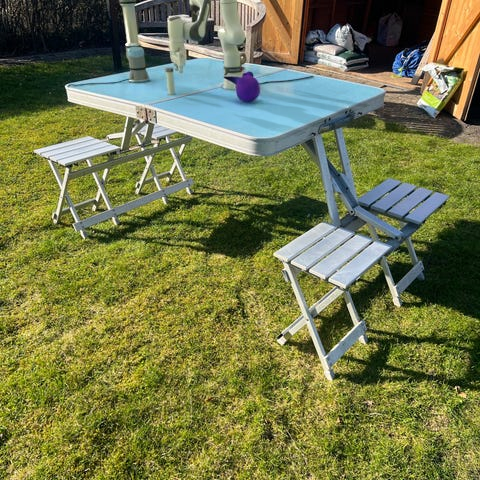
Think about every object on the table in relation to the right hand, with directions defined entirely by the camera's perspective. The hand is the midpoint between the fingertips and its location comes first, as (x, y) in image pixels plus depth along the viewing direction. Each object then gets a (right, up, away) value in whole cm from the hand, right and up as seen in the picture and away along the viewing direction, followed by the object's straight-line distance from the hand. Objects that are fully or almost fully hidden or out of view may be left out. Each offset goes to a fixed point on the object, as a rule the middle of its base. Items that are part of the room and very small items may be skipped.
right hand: (179, 71), depth 272 cm
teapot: (+33, +38, +99) cm, 111 cm away
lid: (-9, +10, +20) cm, 24 cm away
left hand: (+3, +57, +77) cm, 96 cm away
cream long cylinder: (-9, -4, +28) cm, 30 cm away
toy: (+39, -14, +9) cm, 43 cm away
